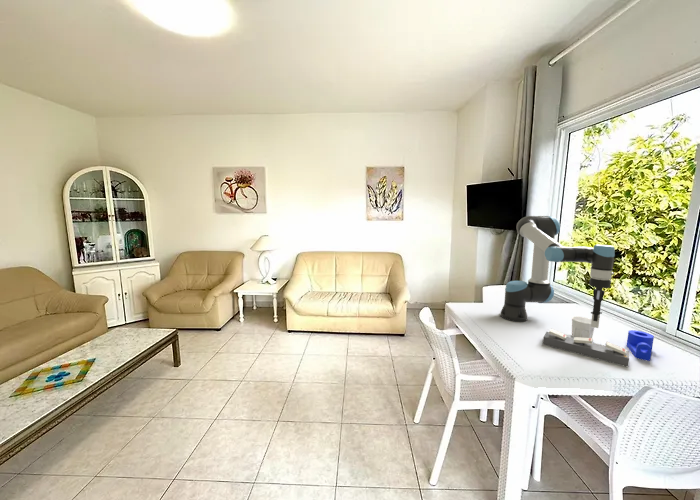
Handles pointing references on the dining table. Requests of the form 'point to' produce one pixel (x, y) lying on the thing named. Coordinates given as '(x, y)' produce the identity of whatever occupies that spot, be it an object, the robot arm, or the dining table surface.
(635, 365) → the dining table surface
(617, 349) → the rocker
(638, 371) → the dining table surface
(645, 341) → the bracket
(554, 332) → the rocker
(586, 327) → the cup
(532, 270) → the robot arm
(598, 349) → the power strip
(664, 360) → the dining table surface
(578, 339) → the rocker
